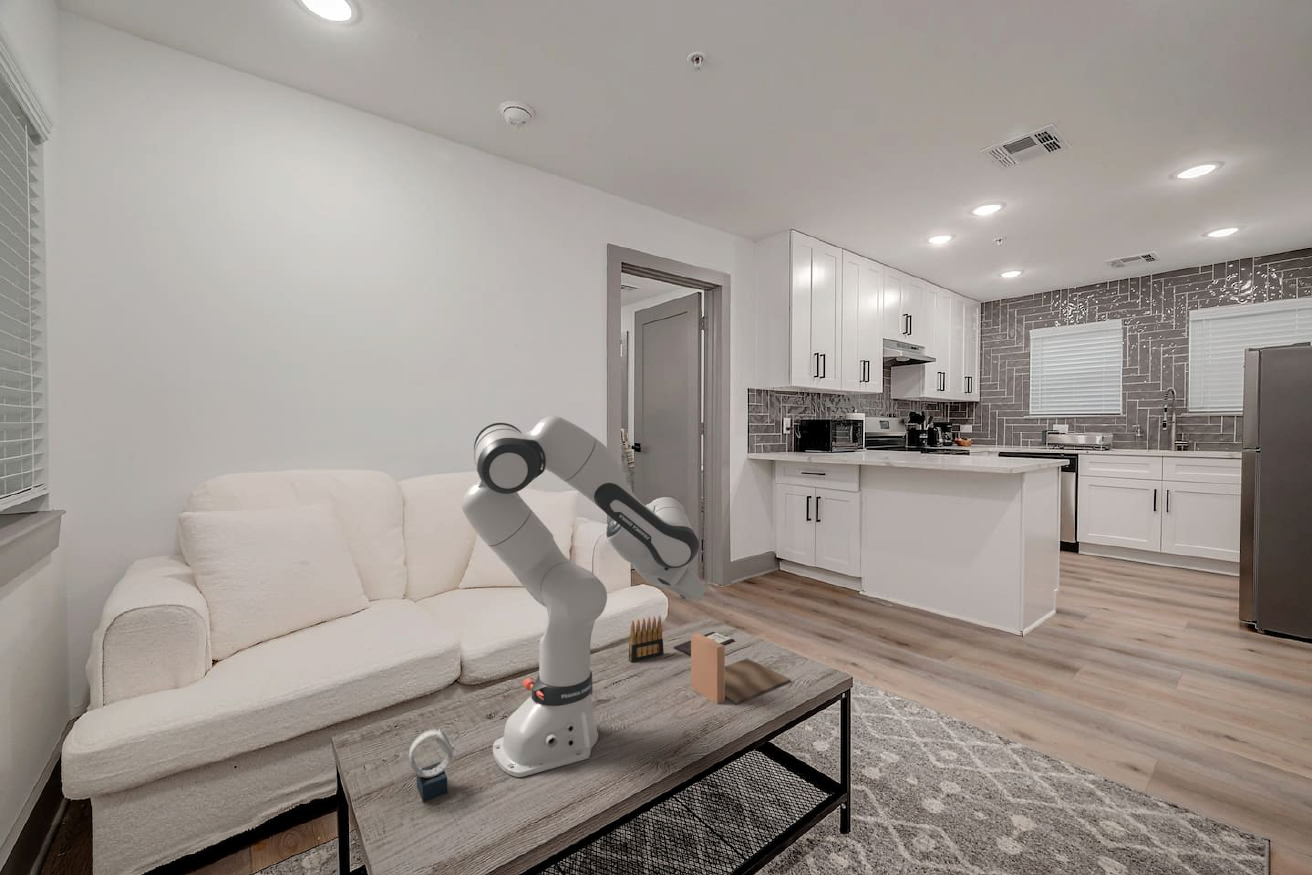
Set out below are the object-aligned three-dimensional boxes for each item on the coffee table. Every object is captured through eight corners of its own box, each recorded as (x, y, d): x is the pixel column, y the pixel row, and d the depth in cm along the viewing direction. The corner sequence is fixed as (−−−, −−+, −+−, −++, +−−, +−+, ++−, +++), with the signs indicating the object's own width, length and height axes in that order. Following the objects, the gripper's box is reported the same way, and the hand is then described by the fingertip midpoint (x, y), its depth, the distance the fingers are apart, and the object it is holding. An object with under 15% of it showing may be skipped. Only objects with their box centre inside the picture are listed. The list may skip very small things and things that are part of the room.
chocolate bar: (673, 646, 168) (713, 631, 180) (673, 649, 168) (713, 634, 180) (694, 656, 162) (734, 639, 174) (694, 659, 162) (734, 642, 174)
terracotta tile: (717, 704, 135) (717, 647, 135) (691, 688, 143) (691, 635, 143) (725, 700, 137) (725, 645, 136) (699, 685, 145) (698, 632, 144)
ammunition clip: (660, 652, 165) (660, 613, 165) (663, 655, 163) (663, 615, 163) (628, 660, 160) (628, 619, 160) (631, 662, 158) (631, 621, 158)
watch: (458, 789, 104) (457, 732, 104) (412, 806, 100) (411, 746, 99) (450, 773, 109) (449, 719, 108) (406, 789, 104) (405, 732, 104)
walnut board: (736, 704, 135) (736, 701, 135) (694, 679, 148) (694, 677, 148) (790, 681, 147) (790, 679, 147) (747, 660, 160) (747, 658, 160)
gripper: (624, 565, 136) (655, 596, 142) (674, 585, 120) (708, 619, 126) (638, 544, 139) (669, 576, 145) (690, 561, 122) (722, 596, 128)
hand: (688, 596), depth 135 cm, fingers closed
